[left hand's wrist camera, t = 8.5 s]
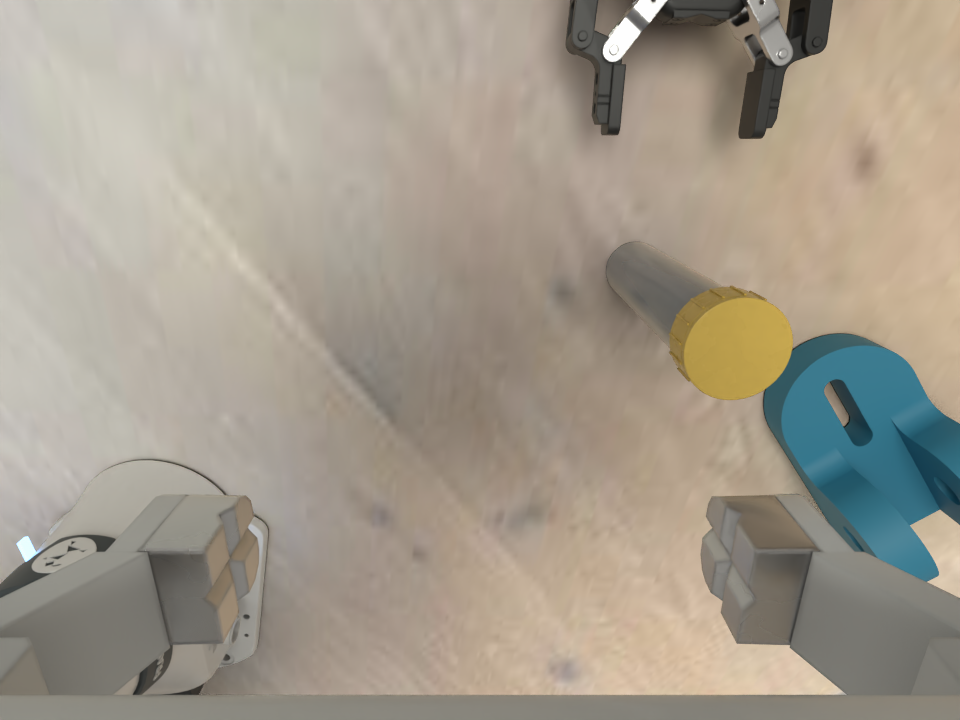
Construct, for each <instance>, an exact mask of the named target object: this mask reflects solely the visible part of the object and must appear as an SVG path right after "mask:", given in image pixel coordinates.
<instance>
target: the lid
mask: <svg viewBox="0 0 960 720" xmlns="http://www.w3.org/2000/svg"><path fill="white" fill-rule="evenodd" d="M766 300H767V299H765V298H763V297H761V296H760V295H758V294H756V293H754V292H752V291H749V292H748V291H746V290H743V289H740V288H736V287H734V286H730V287H719V288H714V289H712V288H710V289H709V290H708V291H705V292H703V293H701V294H699V295H697V296H696V297H694V298H691V299H690V301H689V302H688V303H687V304H686V305H685V306H684V307H683V308H682V309H681V311H680V312H679V313H678V314H677V315H676V318H675V320H674V323H673V325H672V328H671V332H670V333H669V335H670V340H669V344H670V351H671V352H669V353H670V355H671V356H672V357H673V360H674V362H675V363H676V365H677V366H678V368H677V369H678V370H679V371H680V372H681V374H682V375H683V376H684V377H685V378H686V379H687V380H688V381H691V382H692V383H693V384H694V385H695V386H696V387H697V388H698V389H699V390H700V391H702V392H703V393H705V394H707V395H709V396H711V397H714V398H717V399H723V400H738V399H744V398H747V397H751V396H753V395H755V394H758V393H760V392H761V391H763V390H765V389H766V388H768V387H769V386H770V385H771V384H773V383H774V382H775V381H776V380H777V379H778V377H779V376H780V375H781V374H782V372H783V371H784V369H785V368H786V366H787V364H788V362H789V359H790V356H791V352H792V346H793V336H792V330H791V327H790V324H789V322H788V320H787V318H786V317H785V316H784V314H783V313H782V312H781V311H780V310H779V309H778V308H777V307H775V306H774V305H773V304H771V303H769V302H767V301H766Z"/></svg>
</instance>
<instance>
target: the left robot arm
mask: <svg viewBox="0 0 960 720" xmlns="http://www.w3.org/2000/svg"><path fill="white" fill-rule="evenodd" d="M706 517H707V519H708V521H709V523H710V524H711V526H712V529H711V530H710V531H709V532H708V533H707V534H706V535H705V536H704V537H703V538H702V547H701V564H702V571H703V575H704V578H705V582H706V584H707V586H708V588H709V590H710V592H711V593H712V594H713V595H715V596H716V597H718V598H719V599H721V600H722V601H723V602H722V608H721V614H722V616H723V618H724V620H725V622H726V623H727V625H728V627H729V629H730V631H731V633H732V635H733V637H734V639H735V641H736V643H737V644H771V645H790V648H791V649H792V650H793V651H795V652H796V653H797V654H798V655H799V656H801V657H802V658H803V659H804V660H806V661H807V662H808V663H809V664H810V665H812V666H813V667H814V668H815V669H816V670H818V671H819V672H820V673H821V674H822V675H824V676H825V677H826V678H827V679H829V680H830V681H831V682H832V683H833V684H835V685H836V686H837V687H838V688H839V689H841V690H842V691H843V692H844V693H845V694H847V695H199V693H200V691H201V689H202V687H203V685H204V683H205V682H207V681H208V680H209V679H210V678H211V677H212V676H213V675H214V673H215V672H216V670H217V669H218V668H221V667H225V666H229V665H233V664H236V663H239V662H241V661H243V660H245V659H247V658H249V657H250V656H252V655H253V653H254V652H255V650H256V648H257V646H258V640H259V630H260V619H261V608H262V597H263V586H264V575H265V564H266V553H267V542H268V528H267V526H266V525H265V523H264V522H262V521H261V520H260V519H258V518H257V517H255V516H254V514H253V509H252V504H251V500H250V499H249V498H248V497H247V496H242V495H224V494H223V493H222V492H221V491H220V490H219V489H218V488H217V487H216V486H215V485H214V484H212V483H211V482H210V481H208V480H207V479H205V478H204V477H202V476H201V475H199V474H197V473H195V472H193V471H191V470H189V469H187V468H184V467H182V466H179V465H175V464H172V463H167V462H162V461H154V460H137V461H130V462H125V463H121V464H118V465H115V466H113V467H110V468H108V469H106V470H105V471H103V472H102V473H100V474H99V475H98V476H96V477H95V478H94V479H93V480H92V481H91V482H90V483H89V485H88V486H87V487H86V489H85V491H84V492H83V494H82V495H81V497H80V499H79V500H78V502H77V503H76V505H75V506H74V507H73V509H72V510H71V511H70V512H68V513H67V514H65V515H64V516H62V517H61V518H60V519H59V520H58V521H57V522H56V523H55V524H54V525H53V526H52V527H51V529H50V531H49V537H48V539H47V540H46V541H45V542H44V543H43V544H42V546H41V547H40V548H39V549H38V550H37V551H36V552H35V550H34V548H33V546H32V544H31V542H30V540H29V538H28V537H24V538H23V539H22V540H20V541H19V542H18V543H17V545H18V547H19V549H20V551H21V553H22V555H23V557H24V559H25V561H26V562H25V563H24V564H22V565H21V566H19V567H18V568H17V569H16V570H15V571H14V572H13V573H11V574H10V575H9V576H8V577H7V578H6V579H5V580H4V581H3V582H2V583H1V584H0V720H960V598H958V597H956V596H954V595H952V594H950V593H948V592H946V591H944V590H942V589H940V588H938V587H936V586H934V585H932V584H929V583H927V582H925V581H923V580H921V579H919V578H917V577H915V576H913V575H911V574H909V573H907V572H905V571H903V570H901V569H899V568H897V567H894V566H892V565H890V564H888V563H886V562H884V561H882V560H880V559H878V558H876V557H874V556H872V555H870V554H868V553H866V552H855V551H854V550H853V549H852V548H851V547H850V546H849V545H848V544H847V543H846V542H845V540H844V539H843V538H842V537H841V536H840V535H839V534H838V533H837V532H836V531H835V529H834V528H833V527H832V526H831V525H830V524H829V523H828V522H827V521H826V520H825V519H824V517H823V516H822V515H821V514H820V513H819V512H818V511H817V510H816V509H815V508H814V506H813V505H812V504H811V503H810V502H809V501H808V500H807V499H806V498H805V497H804V496H801V495H799V494H781V495H759V496H712V497H711V499H710V501H709V503H708V508H707V514H706Z"/></svg>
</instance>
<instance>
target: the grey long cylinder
mask: <svg viewBox="0 0 960 720" xmlns="http://www.w3.org/2000/svg"><path fill="white" fill-rule="evenodd" d="M606 277H607V281H608V283H609V285H610V286H611V288H612V289H613V290H614V291H615V292H616V293H617V294H618V295H619V296H620V297H621V298H622V299H623V300H624V301H625V302H626V303H627V304H628V305H629V307H630V308H631V309H632V310H633V311H634V312H635V313H636V314H637V315H638V316H639V317H640V318H641V319H642V320H643V321H644V322H645V323H646V324H647V325H648V326H649V327H650V328H651V329H652V330H653V331H654V332H655V334H656V335H657V336H658V337H659V338H660V339H661V340H662V341H663V342H664V343H665V344H666V345H667V346H668V347H669V348H670V344H669V340H670V335H669V333H670V332H671V328H672V325H673V323H674V320H675V318H676V315H677V314H678V313H679V312H680V311H681V309H682V308H683V307H684V306H685V305H686V304H687V303H688V302H689V301H690V299H691V298H694V297H696V296H697V295H699V294H701V293H703V292H705V291H708V290H709V289H710V288H712V289H714V288H719V287H723V286H721V285H720V284H718V283H716V282H714V281H713V280H711V279H709V278H707V277H705V276H704V275H702V274H700V273H698V272H697V271H695V270H693V269H691V268H689V267H688V266H686V265H684V264H682V263H680V262H679V261H677V260H675V259H673V258H672V257H670V256H668V255H666V254H664V253H663V252H661V251H659V250H657V249H656V248H654V247H652V246H650V245H648V244H646V243H643V242H629V243H626V244H624V245H622V246H620V247H619V248H617V249H616V250H615V251H614V252H613V253H612V255H611V256H610V258H609V260H608V263H607V266H606Z"/></svg>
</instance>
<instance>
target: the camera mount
mask: <svg viewBox="0 0 960 720" xmlns="http://www.w3.org/2000/svg"><path fill="white" fill-rule="evenodd" d="M828 382H831V384H832V386H833V387H834V389H835V391H836V393H837V394H838V396H839V398H840V400H841V401H842V403H843V405H844V407H845V408H846V410H847V412H848V414H849V415H850V422H849V424H848V425H847V426H846V427H845V428H844V427H843V426H842V424H841V422H840V421H839V419H838V417H837V415H836V414H835V412H834V410H833V408H832V407H831V405H830V403H829V401H828V400H827V398H826V396H825V394H824V388H825V386H826V385H827V383H828ZM764 413H765V417H766V421H767V423H768V425H769V427H770V429H771V431H772V432H773V434H774V436H775V437H776V439H777V440H778V442H779V444H780V445H781V447H782V448H783V450H784V452H785V453H786V455H787V456H788V458H789V460H790V461H791V463H792V464H793V466H794V468H795V469H796V471H797V472H798V474H799V476H800V477H801V479H802V480H803V482H804V484H805V485H806V487H807V489H808V490H809V492H810V493H811V495H812V497H813V498H814V500H815V501H816V503H817V505H818V506H819V508H820V509H821V511H822V513H823V514H824V516H825V517H826V519H827V521H828V522H829V524H830V525H831V526H832V527H833V528H834V529H835V531H836V532H837V533H838V534H839V535H840V536H841V537H842V538H843V539H844V540H845V542H846V543H847V544H848V545H849V546H850V547H851V548H852V549H853V550H854V551H855V552H866V553H868V554H870V555H872V556H874V557H876V558H878V559H880V560H882V561H884V562H886V563H888V564H890V565H892V566H894V567H897V568H899V569H901V570H903V571H905V572H907V573H909V574H911V575H913V576H915V577H917V578H919V579H921V580H923V581H925V582H927V581H929V580H931V579H933V578H935V577H937V576H938V575H939V571H938V568H937V566H936V564H935V562H934V560H933V558H932V557H931V555H930V553H929V552H928V550H927V549H926V547H925V546H924V544H923V543H922V541H921V540H920V539H919V537H918V536H917V535H916V533H915V532H914V531H913V529H912V528H911V527H910V525H911V524H913V523H915V522H917V521H919V520H921V519H923V518H925V517H926V516H928V515H930V514H932V513H934V512H936V511H938V510H942V511H943V512H944V513H945V514H947V515H948V516H949V517H951V518H952V519H953V520H954V521H956V522H957V523H958V524H959V525H960V424H959V423H957V422H956V421H954V420H952V419H950V418H949V417H947V416H945V415H944V414H943V413H941V412H940V411H939V410H938V409H937V408H936V407H935V406H934V405H933V404H932V403H931V401H930V400H929V398H928V397H927V395H926V393H925V391H924V389H923V387H922V385H921V384H920V382H919V380H918V378H917V376H916V374H915V372H914V370H913V369H912V367H911V366H910V365H909V364H908V362H907V361H906V360H904V359H903V358H902V357H901V356H899V355H898V354H896V353H894V352H892V351H890V350H888V349H886V348H884V347H882V346H880V345H878V344H876V343H874V342H872V341H870V340H868V339H866V338H863V337H860V336H856V335H852V334H830V335H825V336H821V337H817V338H814V339H812V340H809V341H807V342H805V343H803V344H801V345H800V346H798V347H797V348H795V349H794V350H793V351H792V352H791V356H790V359H789V362H788V364H787V366H786V368H785V369H784V371H783V372H782V374H781V375H780V376H779V377H778V379H777V380H776V381H775V382H774V383H773V384H771V385H770V386H769V387H768V388H766V391H765V396H764Z"/></svg>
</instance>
